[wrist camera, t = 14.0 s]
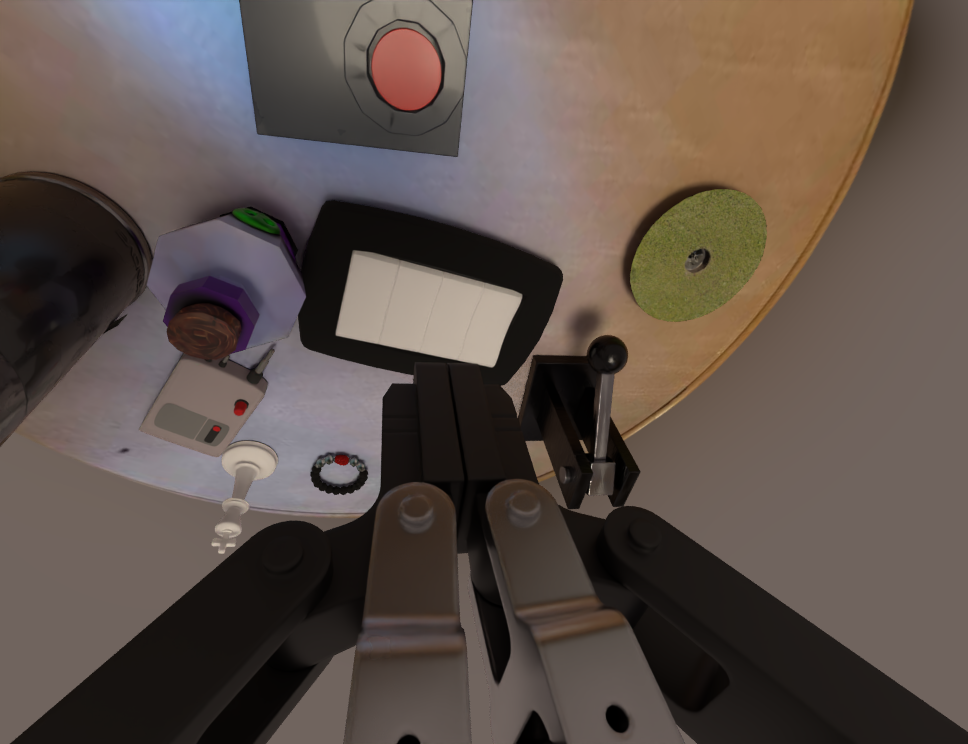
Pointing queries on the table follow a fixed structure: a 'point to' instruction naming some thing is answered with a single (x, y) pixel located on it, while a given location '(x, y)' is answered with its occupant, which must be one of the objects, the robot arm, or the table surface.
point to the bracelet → (343, 461)
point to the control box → (352, 71)
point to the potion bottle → (227, 283)
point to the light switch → (420, 293)
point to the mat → (698, 255)
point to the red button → (406, 69)
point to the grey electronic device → (206, 403)
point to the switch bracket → (571, 426)
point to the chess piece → (241, 485)
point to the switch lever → (603, 409)
